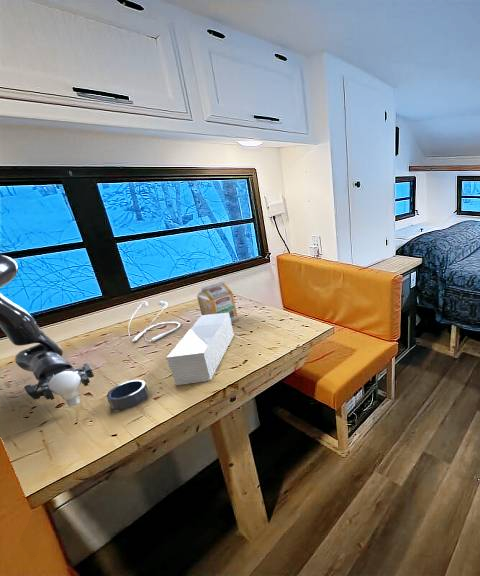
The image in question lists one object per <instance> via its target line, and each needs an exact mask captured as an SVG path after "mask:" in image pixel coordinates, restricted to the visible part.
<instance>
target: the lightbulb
mask: <svg viewBox="0 0 480 576" xmlns="http://www.w3.org/2000/svg"><path fill="white" fill-rule="evenodd" d="M81 384H82V382H81V378H80V376H79V375H78V374H77V373H75V372H72V371H64V372H60V373H58V374H56V375H55V376H53V377H52V378H51V379H50V381H49V384H48V386H49V389H50V390H51V392H52V393H53V395H57V396H60V397H61V398H62V399H63V400H65V402H66V404H67V406H68V407H75V406H77V405H80V403H81V402H82V400H81V397H80V396H79V388H80V386H81Z"/></svg>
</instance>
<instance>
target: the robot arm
mask: <svg viewBox="0 0 480 576" xmlns="http://www.w3.org/2000/svg"><path fill="white" fill-rule="evenodd" d="M18 268H19V267H18V263H17V262H16V261H15V260H14V259H13V258H12V257H10V256H7V255H4V254H0V288H2V287H4V286H6V285H8V284H9V283H11V282H12V281H13V280H14V279H15V278H16V276H17V274H18V270H19V269H18ZM0 329H1V330H2V331H3V333H4V335H6V337H7V338H8V340H9V341H10V342H11V343H12V345H14V346H17V347H20V346H27V345H32V344H36V345H33V346H30V347H28V348H25V349H23V350H21V351H19V352H18V353H16V355H15V357H14V361H15V364H16V365H17V366H18V367H19V368H20V369H22V370H24V371H26V372H32V373H33V376H34V378H35V379H36V380H37V381H38V382H37V383H35V384H26V385H25V386H23V388H24V390H25V393H26V395H27V396H29V397H30V398H31V399H33V400H34V401H36V400H39V399H40V398H41V397H44V399H46V400H51V401H53V400H55V398H56V397H55V396H54V395H55V394H54V393H53V392H51V390H50V389H49V386H48V384H49V381H50V379H51V378H52V377H53V376H55V375H56V374H58V373H60V372H64V371H72V372H75V373H77V374H78V375H79V376H80V378H81V384H82V385H84V387H87V386H89V384H90V383H91V380H90V379H91V378H94V377H95V374H94V371H93V369H92V367H91V365H90V363H88V362H86V363H84V364H83V365H82V366H81V367H79V368H77V367H73V366H72V365H71V364H70V363H69V362H68V360H66V359H65V358H64V357H63V354H64V348H62V346H61V344H58V343H57V341H54V340H53V339H52V338H50V337H49V336H48V335H47V334H46V333H45V332H44V331H43V330H42V328H41V327H40V325H39V324H38V322H37V321H36V320H35V318H34V317H33V316H32V314H30V312H28V311H27V310H26V309H25V308H23V307H22V306H20V305H18V304H16V303H15V302H13V301H12V300H10V299H9V298H8V297H6V296H4V295H3V294H2V293H1V292H0Z"/></svg>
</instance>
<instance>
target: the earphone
mask: <svg viewBox="0 0 480 576" xmlns="http://www.w3.org/2000/svg"><path fill="white" fill-rule="evenodd" d="M158 305H159V306H162V309H161V311H160V312H159V313H158V314H157V315H156V316H155V318H154V319H153V320H151V322H150V323H149V324H148V326H147V327H146V328H145V329H144V330H143V331H141V332H140V333H138V334H136V335H135V337H133V339H131V334H130V325H131V323H132V320H133V318H134V316H135V315H136V313H137V312H138V311H139V310H140V309H142V307H148V306H149V303H148V302H147V301H144V300H143V301H142V302H141V304H140V305H138V307H137V308H136V310H135V311H134V313H133V314H132V316H131V318H130V320H129V323H128V326H127V332H128V338H129V340H130V342H132V343H133V342H134V343H135V342H137V341H138V340H139V339H140V338H141V337H142V336H143V339H144V341H146V342H152V343H153V342H155V341H157V340H160V339H161V338H163V337H165V336H167V335H168V334H170V333H172V332H175V331H177V329H179V328H180V327H181V323H180V322H178V321H164V322H158V323H155V324H153V325H152V323H153V322H154V321H155V320H156V319H157V318H158V317H159V316H160V314H161V313H162V312H163V311H164V310H166V309H167V308H168V306H169V304H168V302H167V301H163V300H160V301H159V302H158ZM167 324H175V325H177V326H176V327H174V328H173V329H171V330H169V331H166V332H163V333H160V334H159V335H157V336H154V337H152V338H151V339H149V340H147V339H146V333H147V331H148V330H150V329H152V328H154V327H157V326H161V325H167Z"/></svg>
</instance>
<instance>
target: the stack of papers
mask: <svg viewBox="0 0 480 576" xmlns="http://www.w3.org/2000/svg"><path fill="white" fill-rule="evenodd" d="M232 324H233V323H231V319H230V315H229V313H219V314H209V315H202V314H201V315H200V316H199V318H198V319H197V320H196V321H195V322H194V324H192V326H191V327H190V328H189V330H187V332H186V333H185V334H184V336H183V337H182V338H181V339H180V340H179V342H178V343H177V344H176V345H175V347H174V348H173V349H172V350H171V352H170V353H169V354H168V355H167V356H166V360H167V362H168V366H169V369H170V372H171V375H172V378H173V382H174V384H175V386H181V385H187V384H188V385H189V384H195V383H202V382H210V381H212V379H213V377H214V375H215V373H216V371H217V370H218V368H219V365H220V363H221V361H222V359H223V358H224V355H225V353H226V352H227V349H228V348H229V345H230V344H231V342H232V340H233V338H234V336H235V333H234V330H233V325H232Z"/></svg>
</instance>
